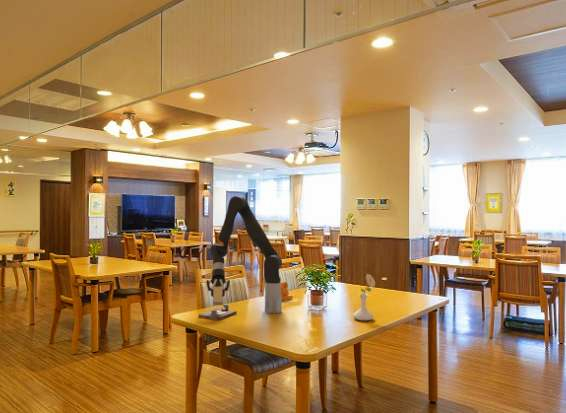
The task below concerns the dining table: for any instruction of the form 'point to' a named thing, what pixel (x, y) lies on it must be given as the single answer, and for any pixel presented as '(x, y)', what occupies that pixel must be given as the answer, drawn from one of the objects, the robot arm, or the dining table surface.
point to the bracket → (285, 291)
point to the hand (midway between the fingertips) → (217, 296)
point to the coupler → (217, 295)
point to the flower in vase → (363, 312)
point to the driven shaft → (214, 313)
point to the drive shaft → (225, 307)
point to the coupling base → (218, 314)
